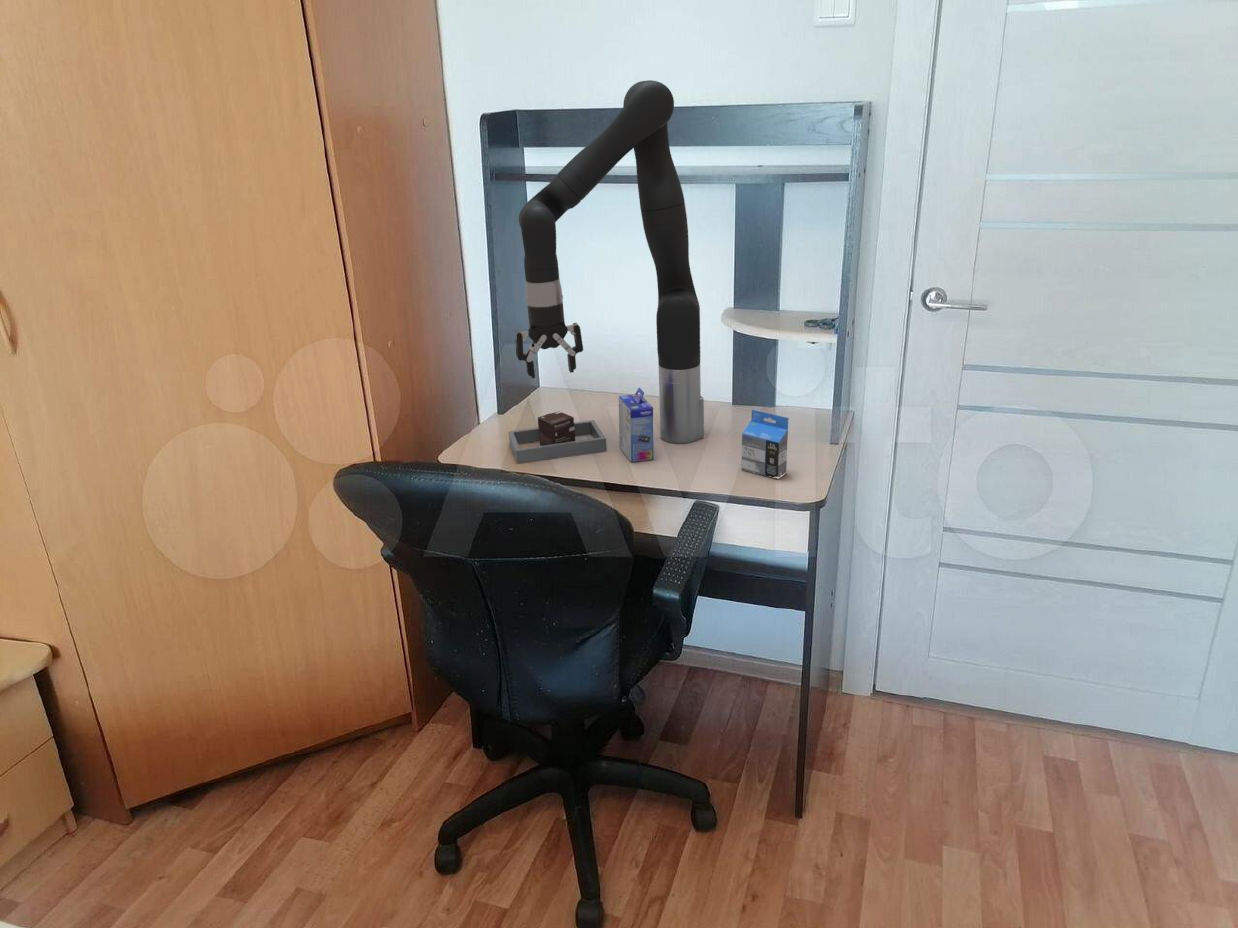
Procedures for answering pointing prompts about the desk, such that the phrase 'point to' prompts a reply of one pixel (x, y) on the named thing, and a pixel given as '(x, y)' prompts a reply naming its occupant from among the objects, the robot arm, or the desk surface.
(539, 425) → the box
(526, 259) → the robot arm
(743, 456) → the ink cartridge pack
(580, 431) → the box
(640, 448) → the ink cartridge box
